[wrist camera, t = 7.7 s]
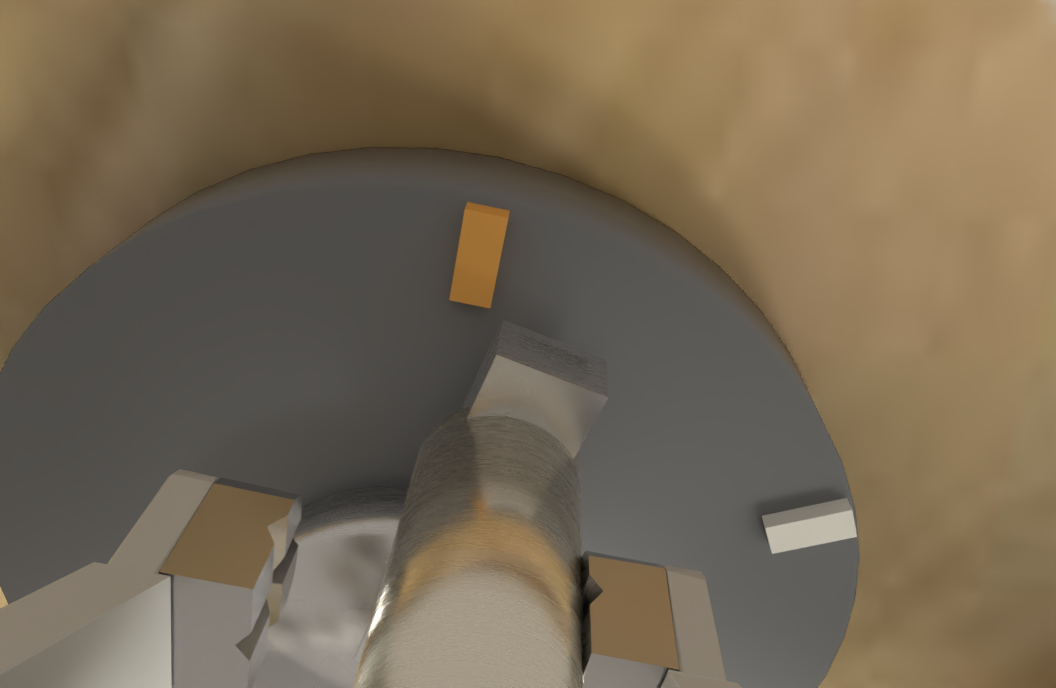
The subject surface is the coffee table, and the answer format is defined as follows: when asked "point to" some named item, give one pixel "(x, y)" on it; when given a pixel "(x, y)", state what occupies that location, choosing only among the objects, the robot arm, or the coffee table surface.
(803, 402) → the dial plate
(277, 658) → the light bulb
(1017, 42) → the coffee table surface
